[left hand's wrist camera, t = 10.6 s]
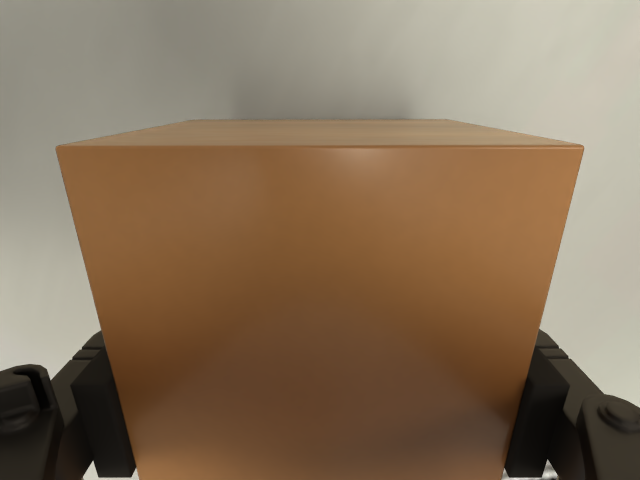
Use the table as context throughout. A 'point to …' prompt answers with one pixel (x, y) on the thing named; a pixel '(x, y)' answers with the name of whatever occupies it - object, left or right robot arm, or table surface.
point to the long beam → (320, 291)
